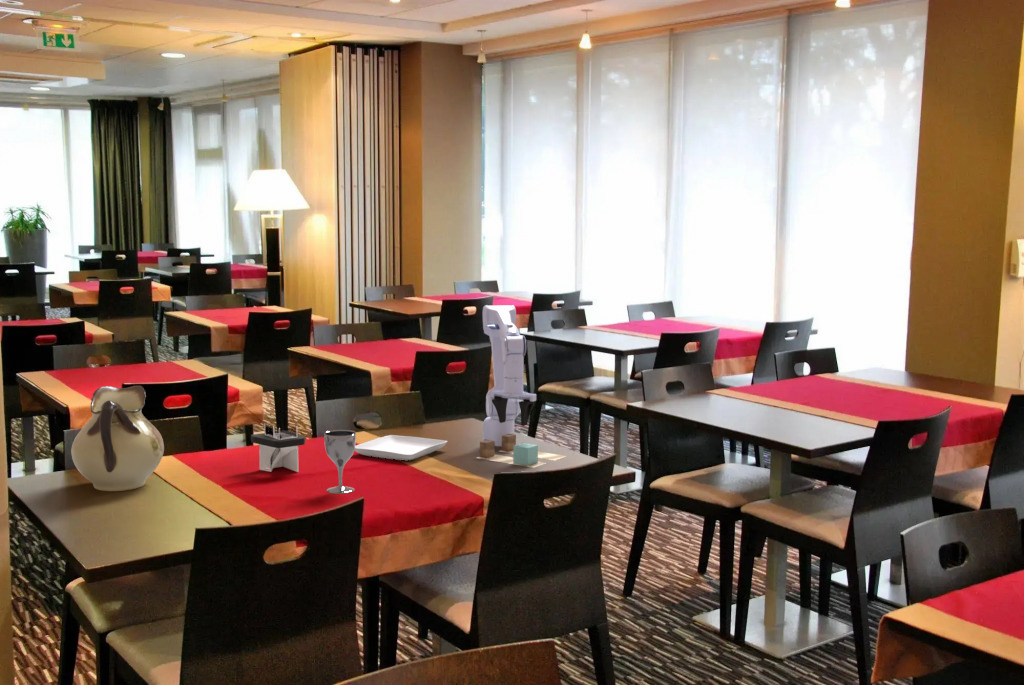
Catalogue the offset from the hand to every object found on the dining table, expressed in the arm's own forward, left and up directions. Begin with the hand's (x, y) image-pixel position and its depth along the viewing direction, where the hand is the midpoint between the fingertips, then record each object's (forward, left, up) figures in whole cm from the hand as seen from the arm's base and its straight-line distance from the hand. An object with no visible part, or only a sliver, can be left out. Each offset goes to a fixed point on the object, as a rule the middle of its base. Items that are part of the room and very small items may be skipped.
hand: (513, 423), depth 308 cm
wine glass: (-15, -56, -11) cm, 59 cm away
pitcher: (-63, -87, -11) cm, 108 cm away
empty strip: (+3, +6, -11) cm, 12 cm away
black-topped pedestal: (-43, -51, -11) cm, 68 cm away
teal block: (+8, -5, -10) cm, 13 cm away
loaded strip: (+3, -5, -11) cm, 12 cm away
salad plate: (-31, -14, -11) cm, 36 cm away
